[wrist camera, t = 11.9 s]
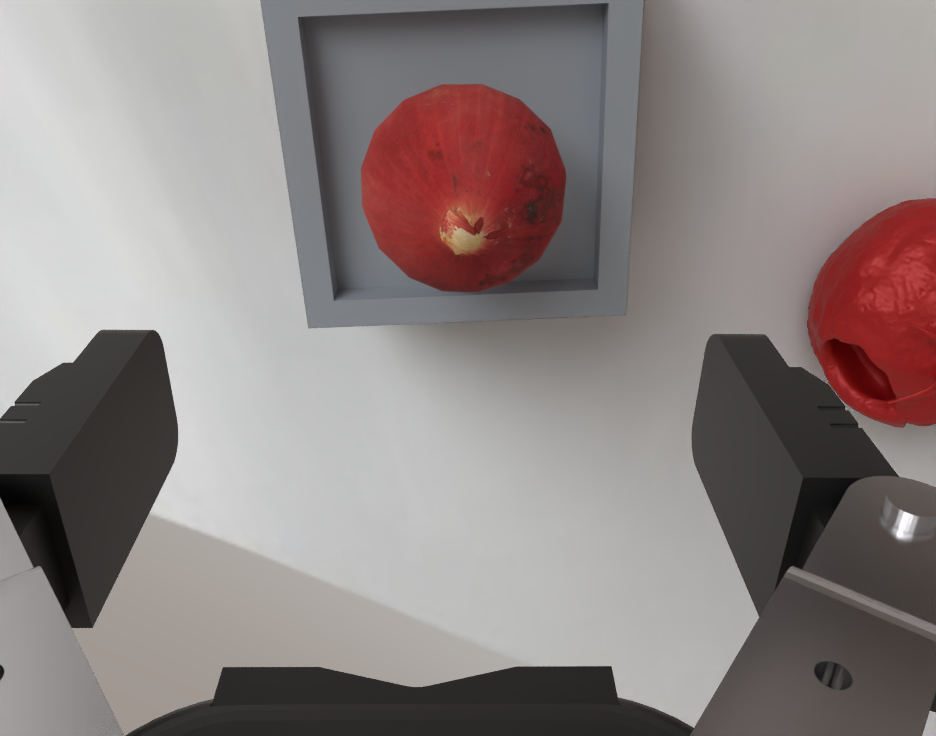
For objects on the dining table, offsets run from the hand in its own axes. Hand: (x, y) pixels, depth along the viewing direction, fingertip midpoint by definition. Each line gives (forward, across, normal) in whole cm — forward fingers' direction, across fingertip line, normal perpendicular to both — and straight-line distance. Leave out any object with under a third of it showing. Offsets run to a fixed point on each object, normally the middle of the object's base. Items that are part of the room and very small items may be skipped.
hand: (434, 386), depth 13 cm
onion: (+17, 0, +1) cm, 17 cm away
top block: (+20, 0, +1) cm, 20 cm away
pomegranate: (+24, -20, +9) cm, 33 cm away
